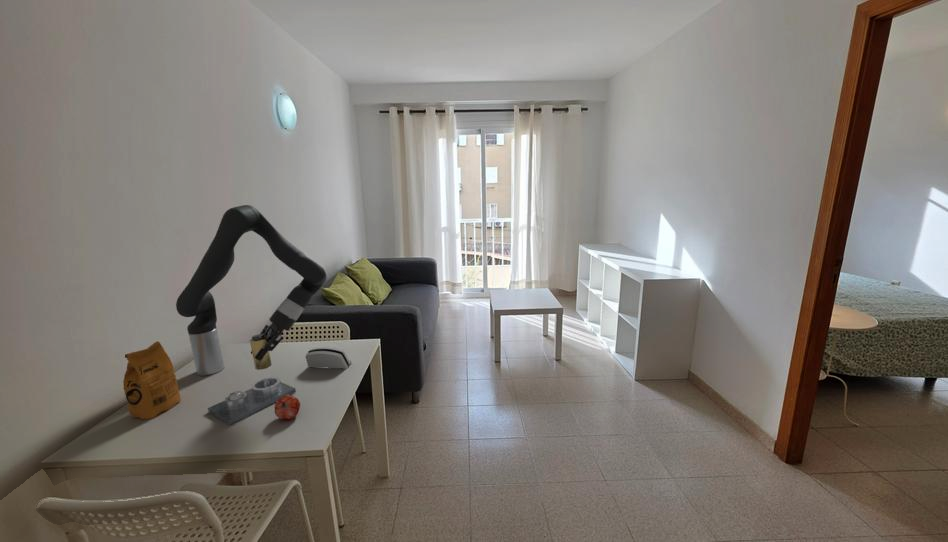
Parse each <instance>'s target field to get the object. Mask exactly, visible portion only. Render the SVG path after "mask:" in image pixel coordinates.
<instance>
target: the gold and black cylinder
mask: <svg viewBox="0 0 948 542" xmlns="http://www.w3.org/2000/svg"><path fill="white" fill-rule="evenodd" d="M265 338H266V336H264V335H263V334H255V335H252V337H251V339H249V342H250V347H251V348H250V349H251V351H252V354H251V355H252V359H253V364H254V368H255V370H257V371H258V370H260V371H261V370H265V369H268V368H270V367H271V366H272V360H271V353H270V351H268V352H267V353H266V354H265V356H264V357H263V359H262V360H261V361H259V360H257V359H255V356H256V355H257V353H258V352H259V350H260V349H261V348H262V346H263V345H264V343H265V341H264V340H265ZM267 344H268V343H267ZM262 349H263V348H262Z"/></svg>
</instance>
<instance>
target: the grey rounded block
mask: <svg viewBox="0 0 948 542" xmlns="http://www.w3.org/2000/svg"><path fill="white" fill-rule="evenodd" d="M305 360H306V363H307V367H328V368H327V369H331V368H344V369H343V370H347V369H348V368H349V366H350V365H351V364H350V363H352V360H351V359H349V358H348V356H347V353H346V352H345V350H344V349H341V348H336V347H330V346H318V347H314V348H310V349H309V350H308V351H307V352H306V354H305Z"/></svg>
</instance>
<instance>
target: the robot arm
mask: <svg viewBox="0 0 948 542" xmlns="http://www.w3.org/2000/svg"><path fill="white" fill-rule="evenodd" d="M218 225H219V226H218V227H217V231H216V233H215V236H214V237H213V240H211V243H210V244H209V247H208V248H207V250H206V251H205V253H204V255H203V257H202V258H201V260H200V262H199V265H198V267H197V269H196V270H195V272H194V273H193V275H192V277H191V279H190V280H189V282H188V284H187V285H186V286H185V288H184V289H183V290H182V292H181V293H180V294H179V296H178V298H177V300H176V302H175V306H176V307H175V308H176V311H177V313H178V314H179V315H180V316H181V317H185V318H192V317H194V318H193V320H192V321H191V322H190V323H189V324H188V325H187V333H188V336H189V337H188V338H189V343H190V348H191V352H192V355H193V361H194V367H195V370H196V374H197V375H198V376H200V377H201V376H210V375H214V374H217V373H218V372H221V371H222V370H224V368H225V364H224V363H225V362H224V359H223V354H222V348H221V343H220V338H219V333H218V327H217V320H218V317H217V309H216V301H215V299H214V295H212V293H211V292H210V290H212V289H213V288H214V287H216V286H217V284H219V283H220V282H221V281H222V280H223V279H224V278H225V277H226V276H227V274H228V273H229V272H230V270H231V268H232V266H233V264H234V262H235V246H236V245H237V243H238V241H239V240H240V238H241V237H242V236H243V235H245V234H246V233H248V232H254V233H255V234H257V235H258V236H260V237H261V238H262V239H263V240H264V241H265V242H266V244H267V245H268V247H269V248H270V250H271V252H272V253H273V255H274V256H275V257H276V258H277V259H278V260H279V261H280V262H281V263H283V264H284V265H285V266H286V267H288V268H289V269H291V270H292V271H295V272H296V273H297V274H298V275H300V276H301V277H302V278H303V279H302V280H301V281H300V282H299V284H298V285H295V286H294V287H293V289H292V290H291V291H290V292H289V294H288V295H287V296H286V298H284V300H282V302H281V303H280V304H279V305H278V307H277V308H276V309H275V311H274V312H273V313H272V315H271V316H270V317H269V319H268V320H269V322H271V324H270V325H268V324H265V325H264V328H262V330H261V332H260V334H263V335H264V336H266V338H265V340H264V341H265V343H264V345H263V346H262V348H263V349H262V348H261V349H260V350H259V352H258V353H257V355H256V356H255V359H257V360H259V361H261V360H262V359H263V357H264V356H265V354H266V353H267V352H268V351H269V352H272V351H273V350H275V348H276V347H277V346H278V345H279V344H280V343H281V341H282V340H283V339H284V336H282V334H283V332H284V331H290V330H291V328H292V327H293V326H294V324H295V323H296V322H297V320H298V319H299V317H300V316H301V314H302V313H303V311H304V310H305V308H306V307H307V306H308V304H309V302H310V301H311V299H312V298H313V297H314V295H315V294H316V293H318V291H319V290H320V289H321V288H322V287H323V285H324V283H326V281H327V272H326V271H325V269H324V268H323V266H321V264H319V263H317V262H316V261H314V260H313V259H311V257H308V256H307V255H306V254H305V253H304V252H303V251H301V250H300V248H297V247H296V246H295V245H294V244H292V242H290V241H289V240H288V239H286V238H285V237H284V236H283V235H282V234H281V233H280V232H279V231H278V230H277V229H276V227H274V226H273V224H272V223H271V222H270V221H269V220H268V218H266V217H265V216H264V214H263V213H261V212H260V211H259V209H257V207H254V206H253V205H250V204H243V205H239V206H233V207H231V208H228V209H227V210H226V211H225V212H224V213H223V215H222V218H221V220H220V223H219V224H218ZM267 343H268V344H267ZM250 354H251V355H253V354H252V350H251V351H250Z"/></svg>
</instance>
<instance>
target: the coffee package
mask: <svg viewBox="0 0 948 542" xmlns="http://www.w3.org/2000/svg"><path fill="white" fill-rule="evenodd" d="M124 358H125V359H126V360H127V361H128V362H127V363H126V364H127V365H126V370H125V372H124V377H123V380H122V382H123V391H124V395H125V399H126V401H127V402H126V403H127V408H128V411H129V415H131V417H133V418H138V419H142V420H151V419H153V418H156V417H157V416H158V415H159V414H161V413H163V412H166V411H169V410H171V409H172V408H173V407H175V406H176V405H177V404H178V403H180V402H181V395H180V390H179V386H178V385H179V384H178V380H177V375H176V373H175V369H174V365H173V363H172V360H171V357H169V355H168V353H167V352H166V351H165V349H164V347H163V346H162V344H161V342H160V341H156V342H155V341H154V342H153V344H151V345H150V346H148V347H147V348H145V349H142V350H138V351H132V352H129V353H125V354H124Z"/></svg>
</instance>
